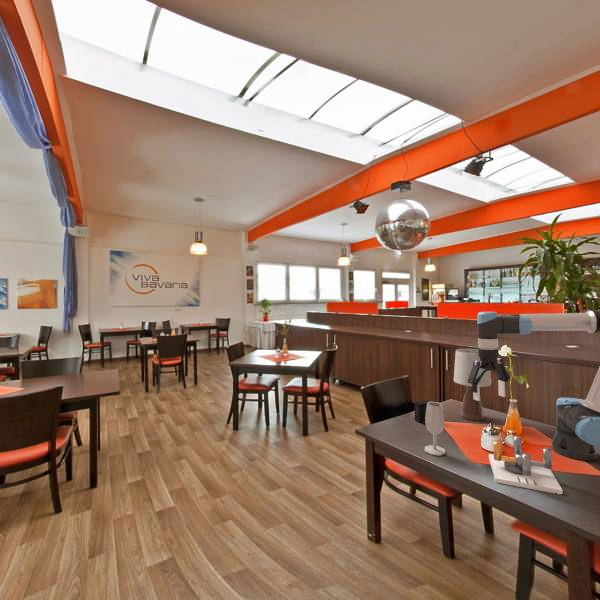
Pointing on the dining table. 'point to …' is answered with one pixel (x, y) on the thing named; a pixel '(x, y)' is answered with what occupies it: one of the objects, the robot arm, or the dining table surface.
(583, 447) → the robot arm
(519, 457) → the silver metal piece
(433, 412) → the wineglass
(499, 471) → the stand plate
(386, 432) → the dining table surface
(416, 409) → the electronic device
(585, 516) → the dining table surface
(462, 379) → the lamp
